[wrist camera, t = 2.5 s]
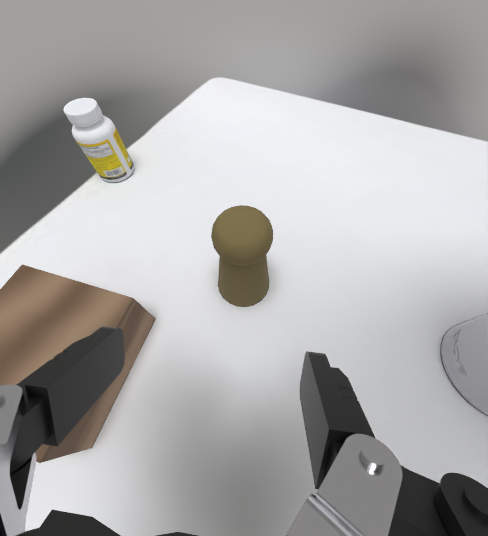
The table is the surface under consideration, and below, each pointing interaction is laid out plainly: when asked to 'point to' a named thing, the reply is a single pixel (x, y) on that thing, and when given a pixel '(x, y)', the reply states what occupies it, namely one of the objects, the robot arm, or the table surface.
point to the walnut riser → (64, 338)
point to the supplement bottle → (99, 140)
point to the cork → (242, 254)
